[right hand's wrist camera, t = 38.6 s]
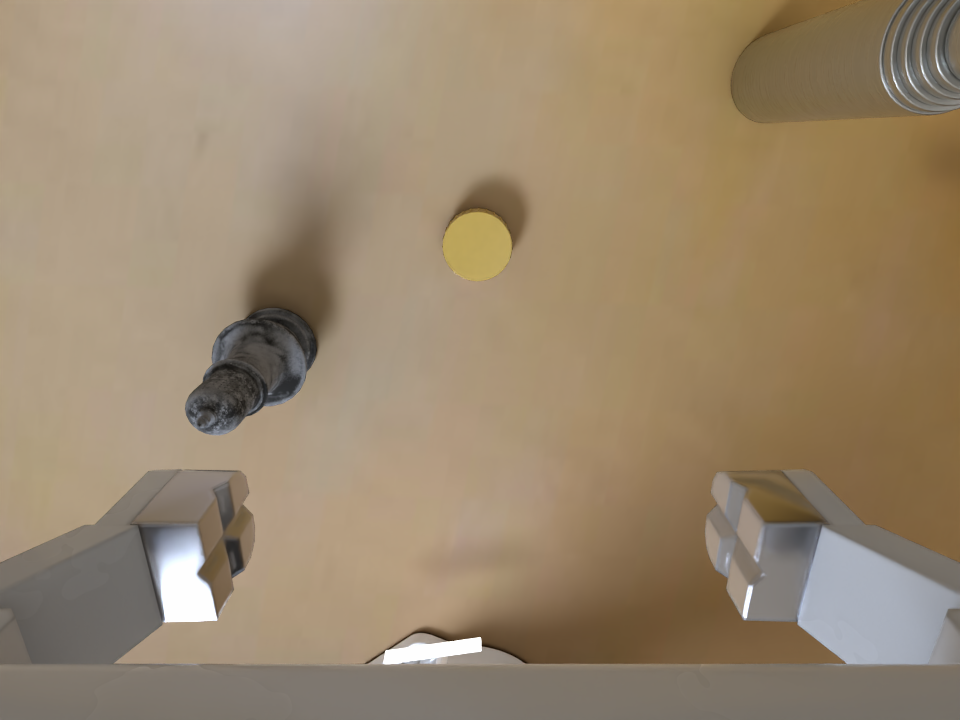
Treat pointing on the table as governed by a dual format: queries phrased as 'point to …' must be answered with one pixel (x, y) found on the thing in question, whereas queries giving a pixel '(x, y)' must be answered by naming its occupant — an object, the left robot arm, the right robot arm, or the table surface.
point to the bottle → (855, 64)
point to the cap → (477, 244)
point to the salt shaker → (252, 369)
